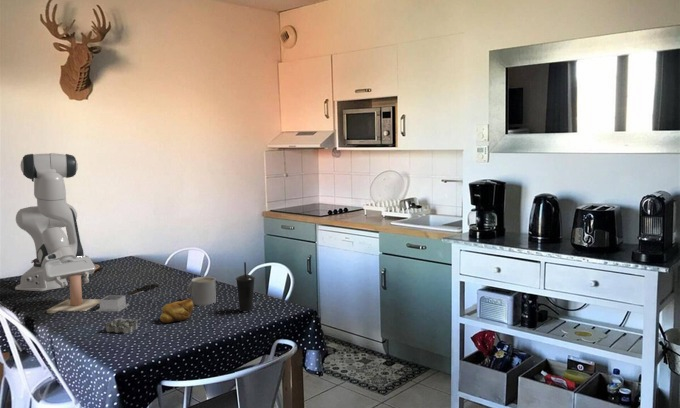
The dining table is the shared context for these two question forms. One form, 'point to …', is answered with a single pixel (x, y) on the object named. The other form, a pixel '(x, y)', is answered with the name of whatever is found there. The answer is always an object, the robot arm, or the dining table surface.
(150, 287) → the knife
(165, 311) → the bread roll
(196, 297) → the coffee mug
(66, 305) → the board
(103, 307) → the holder
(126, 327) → the egg carton
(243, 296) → the drinking cup
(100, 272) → the dining table surface
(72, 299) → the dowel
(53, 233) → the robot arm
